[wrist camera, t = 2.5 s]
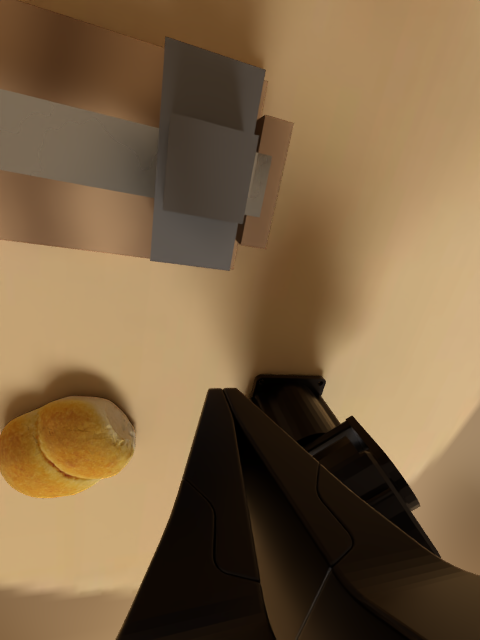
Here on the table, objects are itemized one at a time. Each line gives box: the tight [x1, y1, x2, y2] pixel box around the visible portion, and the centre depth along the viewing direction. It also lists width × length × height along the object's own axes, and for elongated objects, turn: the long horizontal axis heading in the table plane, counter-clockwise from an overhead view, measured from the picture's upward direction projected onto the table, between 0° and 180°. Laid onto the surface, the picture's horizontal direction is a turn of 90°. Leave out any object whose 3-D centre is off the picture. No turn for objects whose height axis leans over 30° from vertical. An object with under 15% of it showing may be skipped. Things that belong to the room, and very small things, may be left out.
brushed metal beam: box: [0, 89, 272, 218], centre depth 11 cm, size 19×3×3 cm, turn 78°
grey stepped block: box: [150, 36, 266, 271], centre depth 12 cm, size 3×6×8 cm, turn 168°
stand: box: [0, 0, 294, 269], centre depth 13 cm, size 20×10×6 cm, turn 78°
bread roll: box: [0, 396, 136, 498], centre depth 22 cm, size 8×9×4 cm
